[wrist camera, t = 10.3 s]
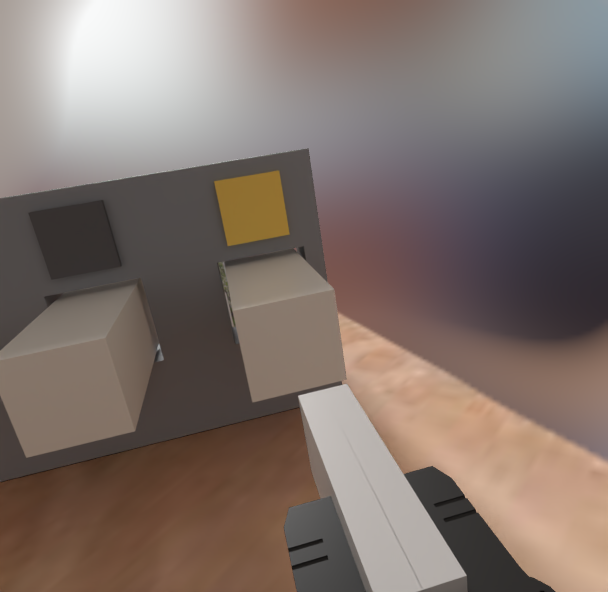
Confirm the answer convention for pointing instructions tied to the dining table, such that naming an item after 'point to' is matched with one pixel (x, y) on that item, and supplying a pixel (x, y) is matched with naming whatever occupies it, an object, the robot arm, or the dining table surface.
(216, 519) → the dining table surface
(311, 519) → the robot arm
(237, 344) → the light board
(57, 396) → the button mid
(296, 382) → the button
